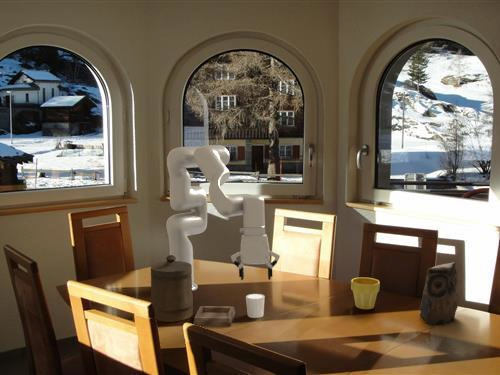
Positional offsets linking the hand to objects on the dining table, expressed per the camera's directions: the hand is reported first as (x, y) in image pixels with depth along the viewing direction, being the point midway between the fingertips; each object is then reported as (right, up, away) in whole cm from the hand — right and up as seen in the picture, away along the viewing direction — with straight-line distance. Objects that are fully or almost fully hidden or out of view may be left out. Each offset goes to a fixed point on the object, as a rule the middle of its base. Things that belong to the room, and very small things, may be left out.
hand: (255, 278), depth 198 cm
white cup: (0, -14, +2) cm, 14 cm away
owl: (+63, -13, -4) cm, 64 cm away
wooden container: (-30, -14, +4) cm, 33 cm away
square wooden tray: (-14, -14, -1) cm, 20 cm away
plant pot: (+41, -12, +9) cm, 43 cm away
